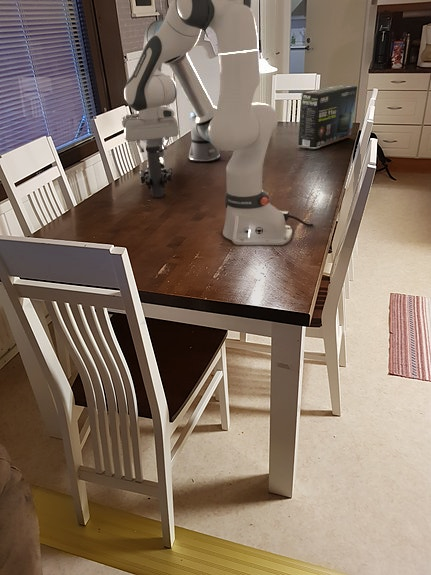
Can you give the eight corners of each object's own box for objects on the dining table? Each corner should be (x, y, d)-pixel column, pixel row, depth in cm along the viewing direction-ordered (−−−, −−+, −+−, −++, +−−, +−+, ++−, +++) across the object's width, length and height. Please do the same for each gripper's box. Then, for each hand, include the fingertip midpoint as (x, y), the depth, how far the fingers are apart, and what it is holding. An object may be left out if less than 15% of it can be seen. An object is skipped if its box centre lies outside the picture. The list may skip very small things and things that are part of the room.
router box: (314, 151, 231) (318, 94, 217) (296, 148, 237) (299, 92, 224) (352, 138, 251) (358, 85, 238) (335, 135, 258) (340, 83, 245)
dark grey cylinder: (149, 195, 184) (144, 147, 174) (160, 192, 186) (155, 145, 176) (154, 198, 181) (149, 149, 171) (165, 196, 183) (160, 147, 173)
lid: (153, 152, 171) (152, 148, 170) (143, 151, 174) (142, 146, 173) (162, 149, 175) (162, 144, 174) (152, 147, 177) (152, 143, 176)
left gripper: (177, 174, 198) (179, 192, 178) (136, 177, 197) (134, 196, 177) (176, 157, 194) (178, 173, 174) (134, 160, 193) (131, 177, 173)
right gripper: (122, 116, 162) (127, 156, 169) (178, 111, 167) (181, 149, 175) (119, 113, 167) (124, 152, 174) (173, 108, 173) (176, 145, 180)
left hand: (156, 185), depth 176 cm, fingers closed on dark grey cylinder, 5 cm apart
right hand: (153, 150), depth 174 cm, fingers open, 7 cm apart
